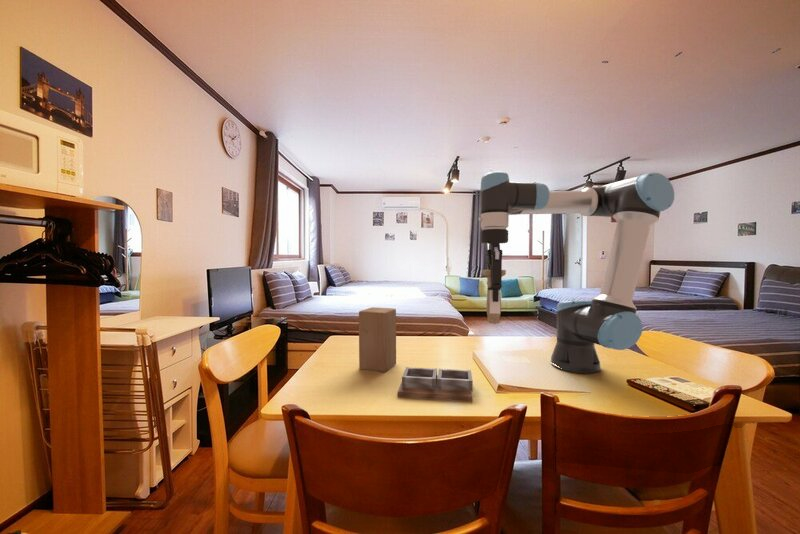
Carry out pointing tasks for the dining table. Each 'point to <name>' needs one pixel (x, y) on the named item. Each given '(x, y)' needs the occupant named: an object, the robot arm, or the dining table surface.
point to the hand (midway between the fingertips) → (493, 311)
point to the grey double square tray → (436, 384)
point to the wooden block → (377, 339)
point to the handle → (491, 317)
